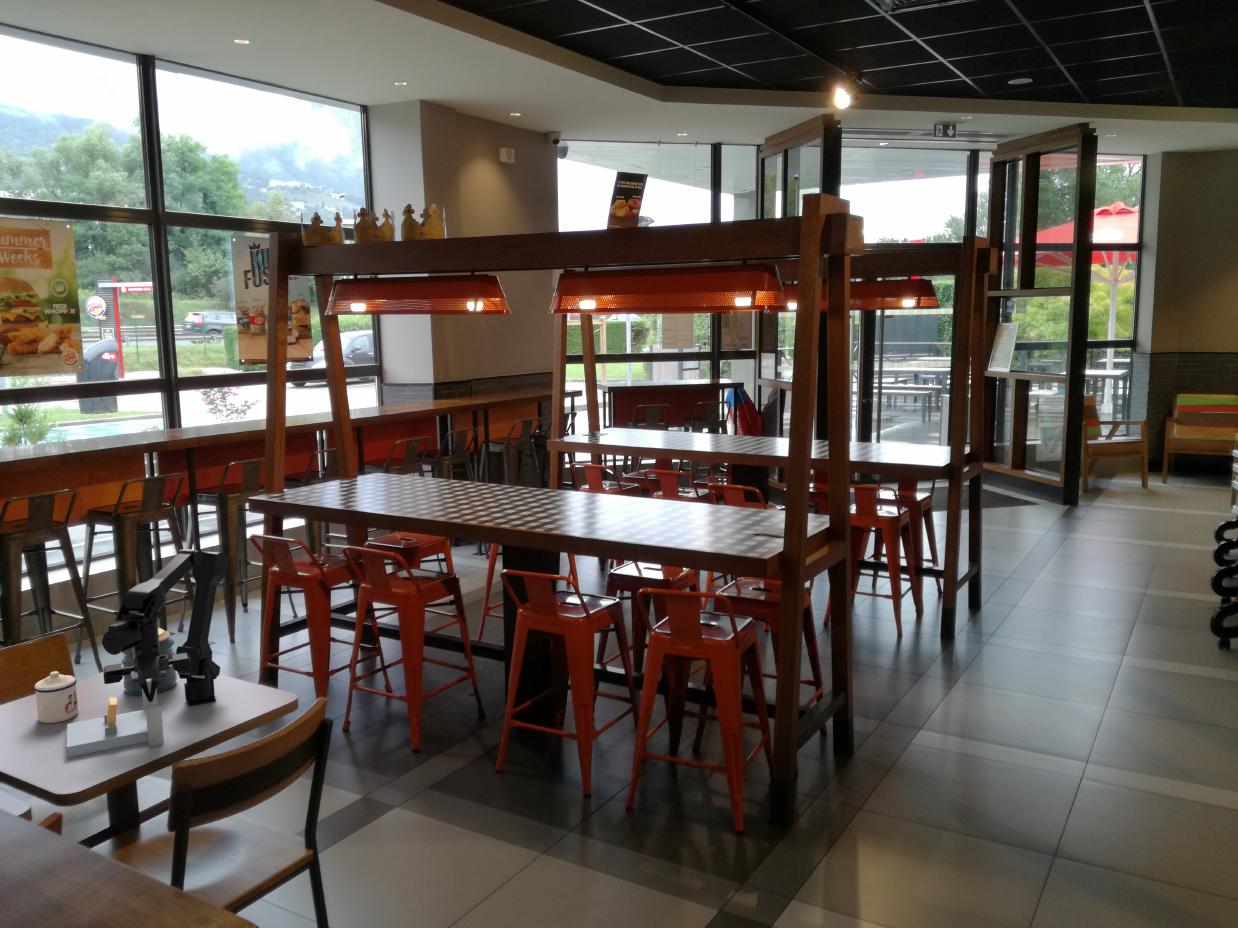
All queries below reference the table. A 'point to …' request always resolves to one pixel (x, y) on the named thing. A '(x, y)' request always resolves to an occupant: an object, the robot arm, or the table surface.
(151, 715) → the cord post near
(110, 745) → the panel
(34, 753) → the table surface
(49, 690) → the teacup with lid
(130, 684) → the canister
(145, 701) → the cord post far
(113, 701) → the thick orange slab
